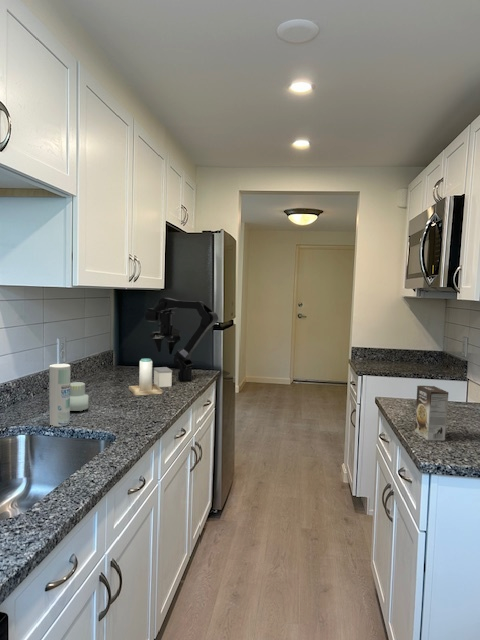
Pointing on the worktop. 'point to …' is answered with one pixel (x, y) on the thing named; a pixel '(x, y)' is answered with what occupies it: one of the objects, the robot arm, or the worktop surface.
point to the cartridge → (145, 375)
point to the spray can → (59, 394)
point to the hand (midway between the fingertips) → (164, 353)
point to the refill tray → (136, 391)
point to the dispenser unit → (162, 376)
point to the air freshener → (78, 397)
